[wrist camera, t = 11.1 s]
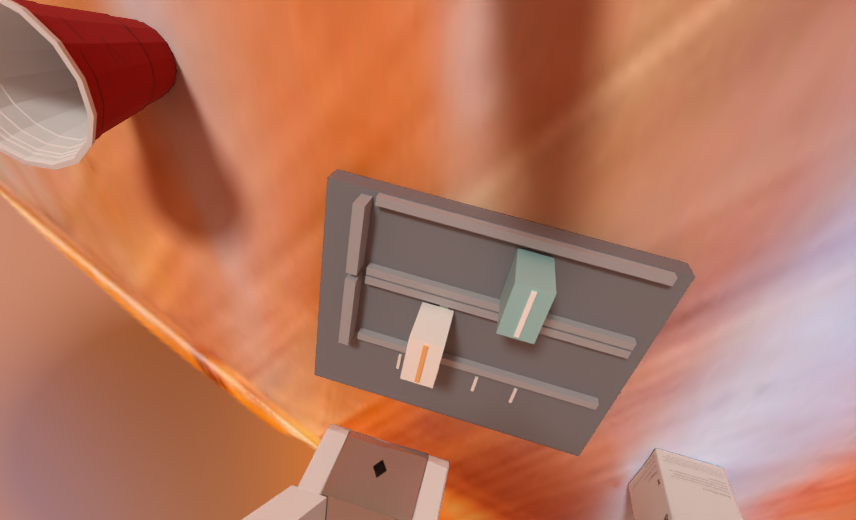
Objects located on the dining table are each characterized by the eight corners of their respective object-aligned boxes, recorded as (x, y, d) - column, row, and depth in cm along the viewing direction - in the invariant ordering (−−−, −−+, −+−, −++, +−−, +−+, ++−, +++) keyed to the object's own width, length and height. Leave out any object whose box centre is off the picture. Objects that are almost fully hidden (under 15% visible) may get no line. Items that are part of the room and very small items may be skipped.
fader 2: (554, 258, 35) (556, 295, 31) (534, 305, 38) (533, 345, 33) (517, 248, 35) (514, 283, 31) (500, 296, 38) (495, 334, 34)
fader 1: (454, 310, 40) (443, 349, 36) (442, 349, 43) (432, 389, 38) (422, 301, 40) (408, 338, 36) (413, 340, 43) (399, 379, 39)
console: (687, 263, 35) (703, 291, 32) (577, 440, 48) (580, 473, 45) (336, 169, 38) (317, 186, 34) (321, 362, 51) (306, 388, 47)
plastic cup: (180, 152, 40) (62, 204, 30) (74, 66, 38) (-93, 92, 28) (228, 55, 35) (102, 80, 25) (106, -52, 32) (-87, -72, 22)
